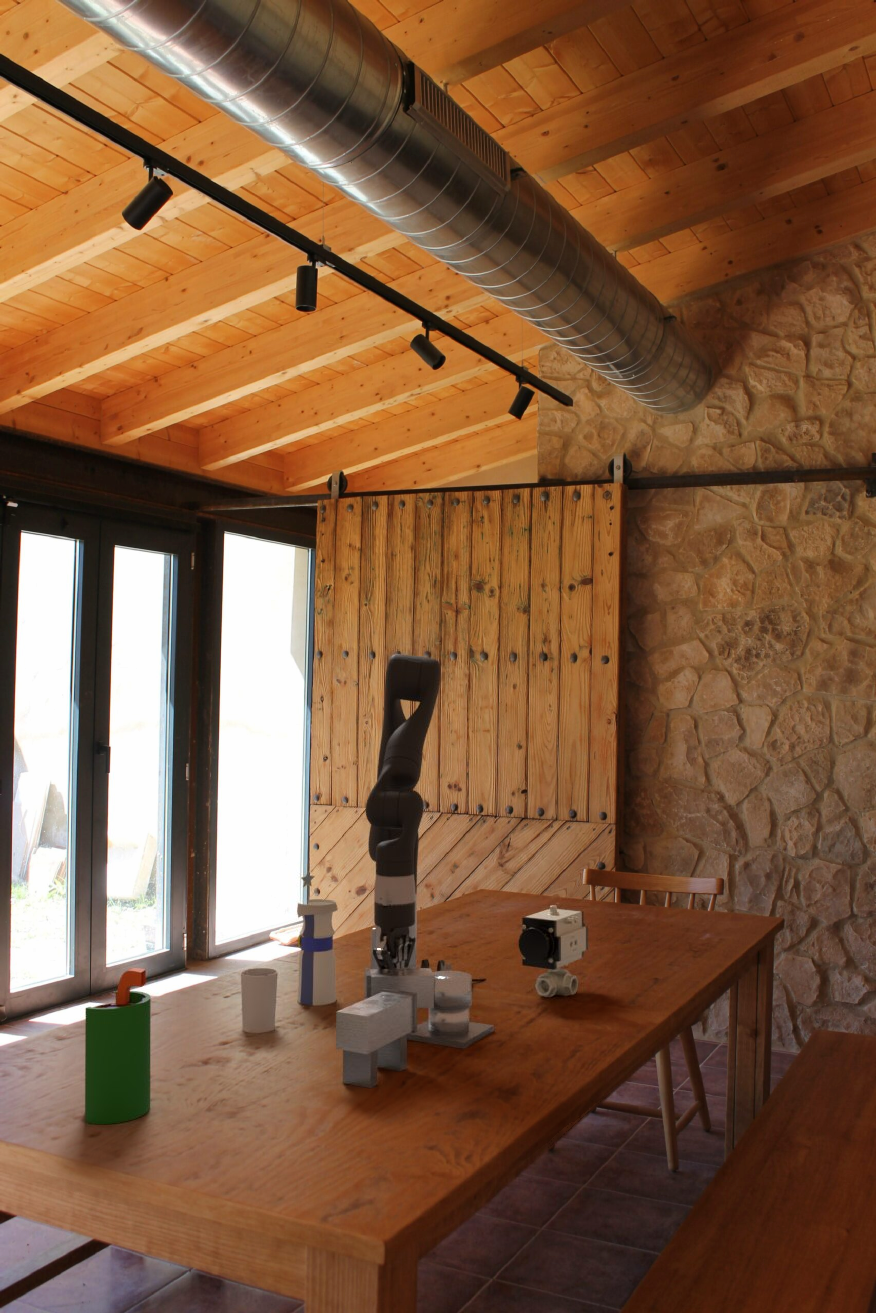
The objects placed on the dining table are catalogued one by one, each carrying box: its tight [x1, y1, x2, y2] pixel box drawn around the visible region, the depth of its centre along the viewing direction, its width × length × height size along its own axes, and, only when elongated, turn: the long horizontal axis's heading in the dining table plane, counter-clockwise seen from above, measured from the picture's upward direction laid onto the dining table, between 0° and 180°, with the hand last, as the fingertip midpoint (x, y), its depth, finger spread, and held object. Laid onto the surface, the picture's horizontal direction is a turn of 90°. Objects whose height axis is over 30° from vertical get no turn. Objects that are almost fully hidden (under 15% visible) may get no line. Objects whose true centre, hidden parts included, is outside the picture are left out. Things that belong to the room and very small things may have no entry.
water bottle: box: [296, 870, 338, 1006], centre depth 217 cm, size 8×9×25 cm
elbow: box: [364, 966, 472, 1010], centre depth 193 cm, size 19×8×6 cm, turn 97°
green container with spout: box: [84, 967, 152, 1125], centre depth 156 cm, size 10×9×20 cm
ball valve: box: [518, 904, 589, 998], centre depth 223 cm, size 18×8×18 cm, turn 148°
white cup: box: [240, 967, 279, 1034], centre depth 198 cm, size 7×7×10 cm
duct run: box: [335, 988, 418, 1089], centre depth 172 cm, size 15×6×11 cm, turn 152°
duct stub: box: [407, 1007, 495, 1049], centre depth 194 cm, size 12×12×5 cm
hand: (394, 994), depth 200 cm, fingers closed
